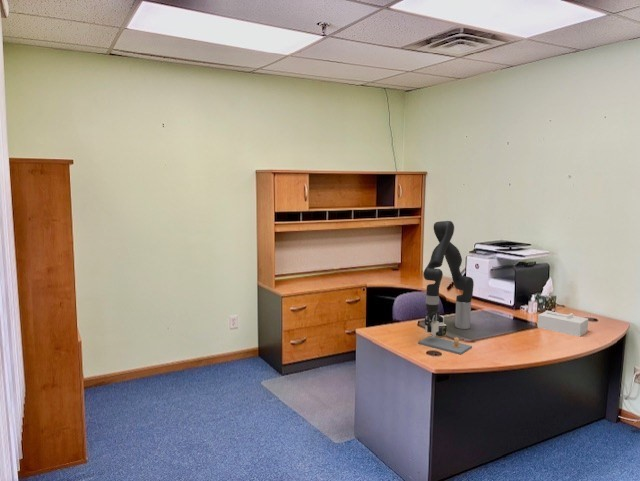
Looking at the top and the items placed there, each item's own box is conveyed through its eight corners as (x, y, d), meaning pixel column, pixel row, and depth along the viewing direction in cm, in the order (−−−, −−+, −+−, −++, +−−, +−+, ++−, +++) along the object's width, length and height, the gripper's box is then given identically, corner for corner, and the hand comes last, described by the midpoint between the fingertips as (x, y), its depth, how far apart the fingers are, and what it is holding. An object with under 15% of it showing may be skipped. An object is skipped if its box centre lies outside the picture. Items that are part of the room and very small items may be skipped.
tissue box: (579, 337, 289) (580, 319, 287) (537, 327, 306) (538, 311, 305) (587, 332, 299) (588, 315, 297) (546, 323, 316) (547, 307, 315)
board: (430, 337, 285) (430, 327, 284) (471, 348, 268) (472, 337, 267) (418, 343, 275) (418, 333, 274) (460, 354, 257) (461, 343, 257)
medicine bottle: (435, 337, 286) (436, 317, 284) (430, 333, 293) (430, 314, 291) (446, 336, 288) (447, 317, 286) (440, 332, 295) (441, 313, 293)
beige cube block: (429, 329, 280) (430, 319, 279) (438, 331, 277) (438, 321, 276) (425, 331, 276) (425, 321, 275) (433, 333, 272) (434, 323, 272)
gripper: (432, 298, 282) (431, 326, 284) (420, 303, 271) (419, 332, 273) (444, 301, 277) (443, 329, 279) (432, 306, 266) (431, 335, 268)
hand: (431, 330), depth 276 cm, fingers closed on beige cube block, 5 cm apart
